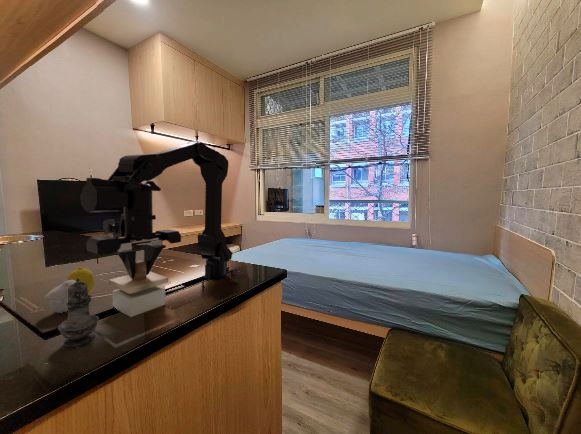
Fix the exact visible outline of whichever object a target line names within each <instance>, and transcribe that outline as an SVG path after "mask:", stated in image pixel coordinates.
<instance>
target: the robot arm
mask: <svg viewBox="0 0 581 434" xmlns="http://www.w3.org/2000/svg"><path fill="white" fill-rule="evenodd" d="M189 160H192V162H193V163H194V164H195V165H197V167H199V169H200V175H201V176H202V178H203V180H204V183H205V192H204V193H205V194H204V195H205V201H204V204H205V205H204V206H205V207H204V229H203V231H202V232H201V233H199V234H197V245H196V247H197V248H198V252H199V253H200V255H201V259H204V260H205V264H204V275H205V276H204V275H202V278H206V279H208V280H212V281H215V282H216V281H219V280H222V279H225V278H228V277H230V276H231V275H230V274H228V262H230V261H231V260H232V258H233V254H234V253H233V252H232V251H231V250H230V248H229V246H228V245H227V238H226V235H225V233H224V232H223V230H222V205H223V204H222V203H223V200H222V199H223V183H224V181H225V180H226V178H227V176H228V173H229V165H230V164H229V160H228V159H227V157H226V156H225V155H224V154H222V153H220V152H219V151H217V150H216V149H213V148H211V147H209V146H207V145H206V144H205V143H204V142H202V141H187V142H186V143H184V144H181V145H178V146H175V147H172V148H168V149H165V150H160V151H158V152H155V153H145V154H131V155H129V154H128V155H124V156H122V157H120V158H119V161H118V164H117V168H115V170H114V171H113V172H112V174H111V175H110V176H109V177H108V178H107V179H102V178H100V177H86V184H84V186H83V187H82V190H81V193H80V195H79V198H80V203H81V206H82V208H83V210H84V211H85V212H87V213H107V212H108V213H109V212H121V211H122V210H123V213H121V214H120V221H116V220H115V219H105V220H104V221H103V222H102V223H103V224H102V226H103V227H102V230H103V234H104V235H103V236H93V237H92V236H91V237H89V238H88V240H87V241H86V245H85V246H86V251H87V252H90V253H92V254H95V255H106V254H117V255H118V257H119V258H120V259H121V261H122V263H123V266H124V267H125V269H126V272H127V274H128V275H129V276H130V278H134V276H135V263H136V261H137V258H136V257H137V250H134V249H133V246H136V245H141V246H142V248H143V255H144V256H143V260H144V261H146V274H147V275H148V274H149V272H151V270H152V268H153V267H154V264H155V262H156V261H157V259H158V257H159V256H160V254H161V252H162V251H163V249H165V248H166V247H167V245H165V244H163V241H167V242H168V243H169V244H178V243H181V242H182V235H181V233H180V231H178V230H175V229H168V228H167V229H160V230H155V231H154V230H153V229H154V226H153V222H154V220H156V219H157V218H156V214H153V192H161V191H162V188H161V187H160V186H159V185H157V184H156V183H155V181H154V179H156V178H157V177H159V176H160V175H161V174H163V172H164V171H165V170H166V169H168V168H171V167H173V166H175V165H179V164H182V163H183V162H186V161H189ZM143 182H145V183H143ZM127 185H130V186H129V187H127ZM110 235H111V236H110Z"/></svg>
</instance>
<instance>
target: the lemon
mask: <svg viewBox="0 0 581 434" xmlns="http://www.w3.org/2000/svg"><path fill="white" fill-rule="evenodd" d="M77 278H79V279H80V280H79V282H84V283H86V284H87V286H88V294H89V293H91V292H92V291H93V289H94V287H95V283H96V280H95V276H94V274H93V271H91V270H89V269H88V268H84V267H81V266H80V267H78V268H77V269H74V270H73V271H72V272H70V274H69V275H68V277H67V280H66V281H68V280H76V279H77Z"/></svg>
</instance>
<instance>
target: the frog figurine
mask: <svg viewBox="0 0 581 434" xmlns="http://www.w3.org/2000/svg"><path fill="white" fill-rule="evenodd" d="M67 280H68V279H67ZM67 280H64V281H63V282H62V283H61V284H60V285H57V286H56V287H54V288H53V289H50V291H48V292H47V293H46V295H45V296H44V299H45V300H46V301H47V302H48V305H49V308H50V310H52V311H53V312H54V313H58V314H64V313H63V312H65V313H68V312H67V311H68V307H67V306H66V303H68V287H69V286H70V285H71V284H73V283H75V282H76V281H75V280H68V281H67ZM52 311H51V312H52Z"/></svg>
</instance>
